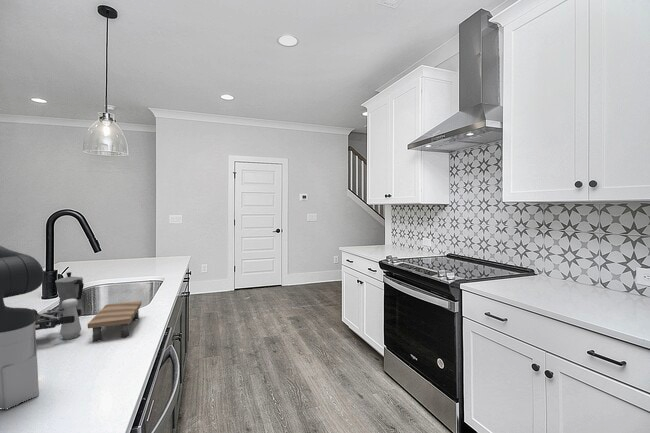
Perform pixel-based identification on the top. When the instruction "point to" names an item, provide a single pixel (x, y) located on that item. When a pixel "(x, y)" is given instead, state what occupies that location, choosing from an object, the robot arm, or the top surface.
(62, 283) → the coffeepot
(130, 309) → the slatted wooden bench
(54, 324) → the robot arm
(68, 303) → the salt shaker
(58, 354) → the top surface
